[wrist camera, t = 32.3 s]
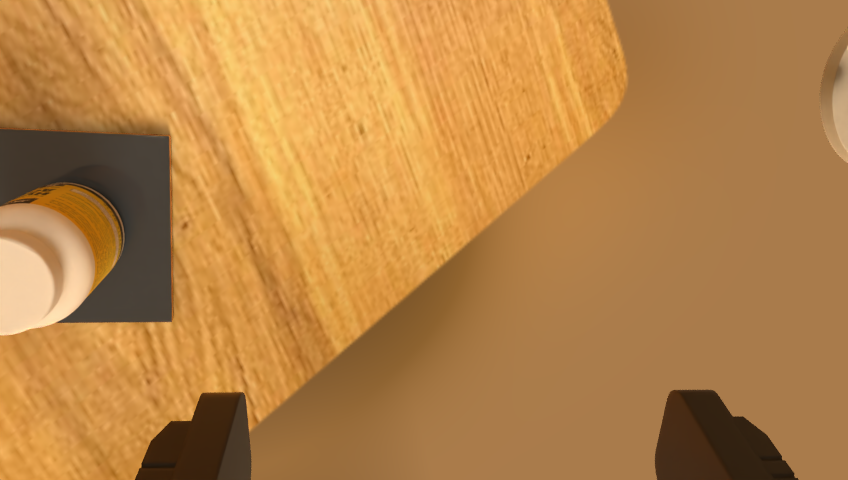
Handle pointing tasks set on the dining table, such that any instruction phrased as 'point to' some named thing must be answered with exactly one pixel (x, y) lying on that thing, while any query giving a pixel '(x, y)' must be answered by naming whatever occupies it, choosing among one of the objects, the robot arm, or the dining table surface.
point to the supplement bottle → (54, 253)
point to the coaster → (129, 194)
